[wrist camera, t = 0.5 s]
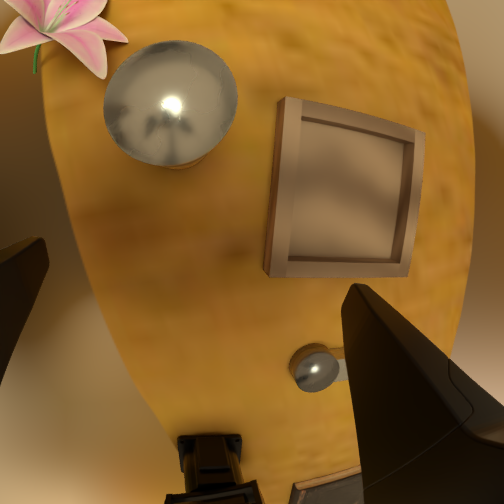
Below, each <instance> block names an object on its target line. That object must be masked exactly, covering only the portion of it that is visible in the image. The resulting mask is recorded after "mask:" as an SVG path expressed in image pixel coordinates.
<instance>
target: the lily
mask: <svg viewBox="0 0 504 504" xmlns="http://www.w3.org/2000/svg"><path fill="white" fill-rule="evenodd" d="M4 1H5V2H6V3H8V4H9V5H10V6H12V7H13V8H14V9H15V10H16V11H17V12H19V13H20V14H21V15H20V16H19V17H17V18H16V19H15V20H14V21H13V23H12V24H11V25H10V27H9V28H8V30H7V31H6V33H5V35H4V37H3V39H2V41H1V43H0V54H6V53H9V52H13V51H16V50H20V49H23V48H27V47H30V46H34V45H37V46H36V50H35V54H34V63H33V65H34V66H33V73H34V74H35V73H36V72H37V57H38V52H39V48H40V46H41V44H42V43H45V42H49V41H52V40H56V41H58V42H59V43H61V44H62V45H63V46H65V47H66V48H67V49H68V50H70V51H71V52H72V53H73V54H74V55H75V56H76V57H77V58H78V59H79V60H80V61H81V62H82V63H83V64H84V65H85V66H86V67H87V68H88V69H89V70H90V71H92V72H93V73H94V74H95V75H96V76H97V77H99V78H101V79H104V78H105V77H106V76H107V57H106V50H105V46H104V42H103V40H102V39H104V40H111V41H118V42H125V43H128V40H127V38H126V37H125V36H124V35H123V34H122V33H121V32H120V31H119V30H118V29H117V28H116V27H114V26H113V25H112V24H110V23H109V22H107V21H106V20H104V19H103V18H101V17H99V16H97V15H99V14H100V13H101V11H102V10H103V9H104V7H105V5H106V3H107V0H4ZM35 28H36V29H37V30H36V29H35Z"/></svg>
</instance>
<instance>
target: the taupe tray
mask: <svg viewBox="0 0 504 504" xmlns="http://www.w3.org/2000/svg"><path fill="white" fill-rule="evenodd" d="M424 151H425V132H422V131H419V130H416V129H413V128H410V127H407V126H404V125H401V124H398V123H395V122H392V121H388V120H385V119H382V118H378V117H375V116H371V115H368V114H364V113H360V112H356V111H352V110H348V109H344V108H340V107H336V106H332V105H327V104H322V103H318V102H313V101H308V100H303V99H297V98H292V97H284V98H283V99H282V100H280V101H279V102H278V107H277V119H276V131H275V143H274V155H273V167H272V179H271V190H270V201H269V212H268V223H267V234H266V245H265V255H264V266H263V270H264V271H265V272H266V274H267V275H268V276H269V277H284V278H376V277H408V272H409V267H410V262H411V257H412V251H413V246H414V240H415V234H416V228H417V221H418V214H419V206H420V198H421V189H422V178H423V166H424Z"/></svg>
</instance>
